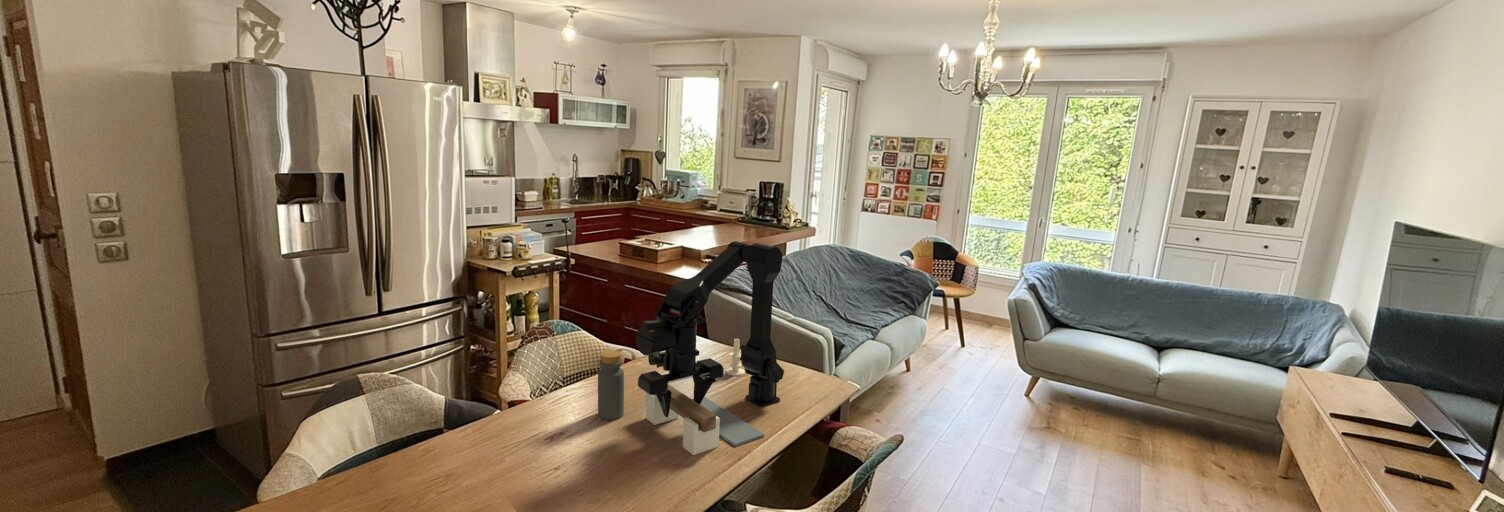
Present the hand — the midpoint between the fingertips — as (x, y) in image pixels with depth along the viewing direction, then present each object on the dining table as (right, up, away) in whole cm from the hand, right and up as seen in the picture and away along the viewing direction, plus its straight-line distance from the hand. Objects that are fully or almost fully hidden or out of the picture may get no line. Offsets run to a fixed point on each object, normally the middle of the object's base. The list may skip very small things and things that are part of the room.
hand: (681, 412), depth 133 cm
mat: (+8, -4, +7) cm, 11 cm away
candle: (+11, +2, +36) cm, 38 cm away
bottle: (-17, -3, +8) cm, 19 cm away
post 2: (+5, -6, -5) cm, 9 cm away
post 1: (-5, -3, +7) cm, 9 cm away
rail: (0, 0, 0) cm, 0 cm away
